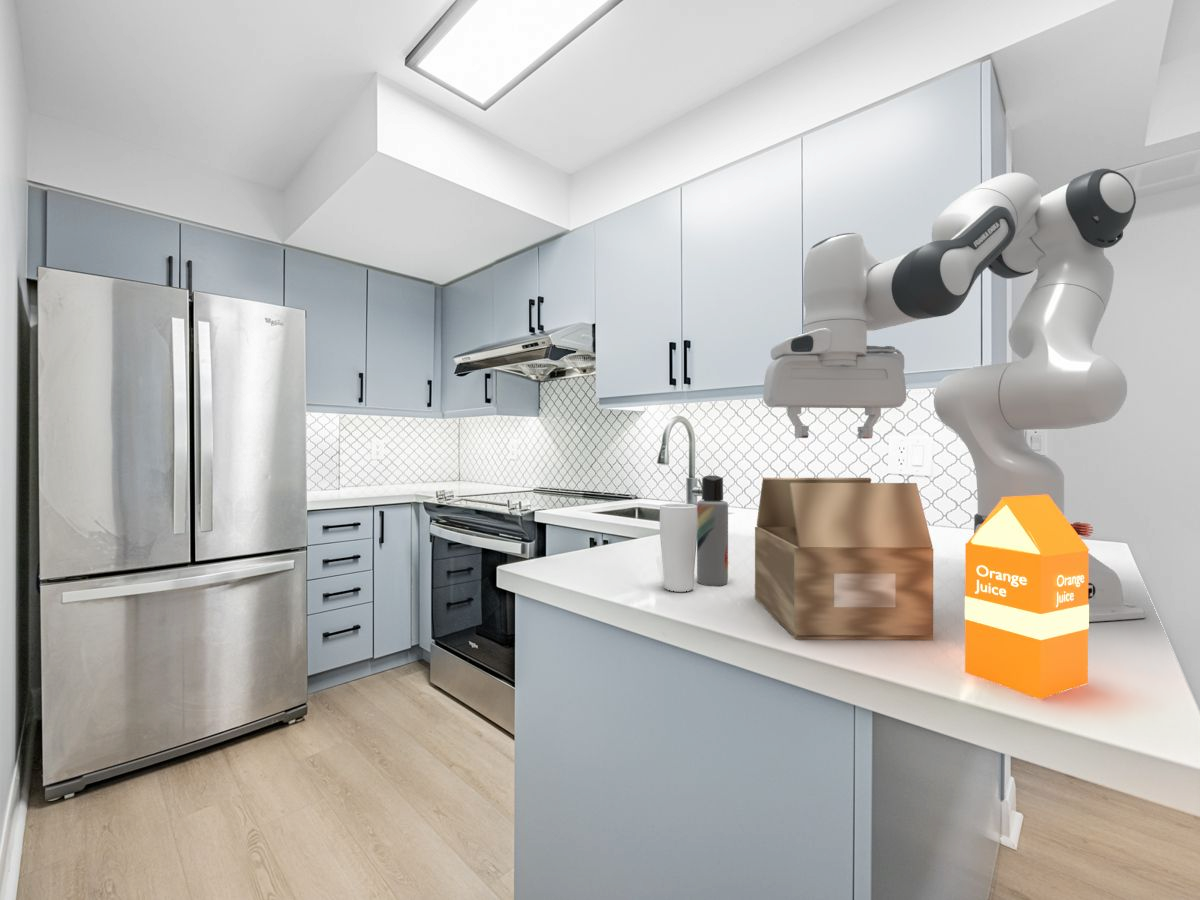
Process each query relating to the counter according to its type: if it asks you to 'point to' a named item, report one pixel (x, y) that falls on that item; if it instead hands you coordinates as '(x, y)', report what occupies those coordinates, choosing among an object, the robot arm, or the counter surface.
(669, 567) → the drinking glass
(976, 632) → the orange juice
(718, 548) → the lotion bottle
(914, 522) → the near flap
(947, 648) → the counter surface
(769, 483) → the far flap
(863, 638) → the carton
